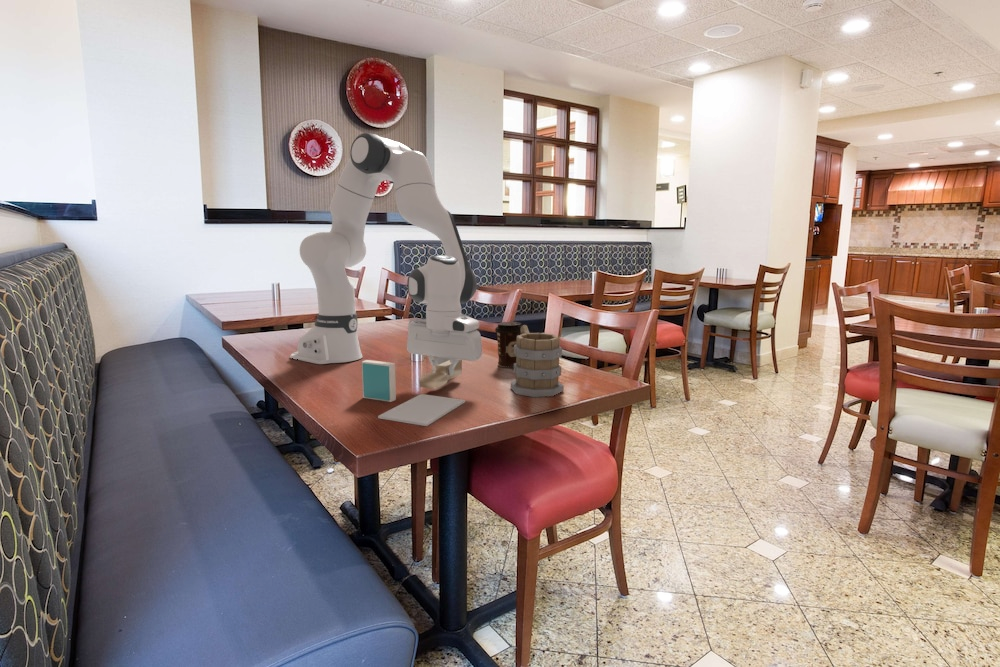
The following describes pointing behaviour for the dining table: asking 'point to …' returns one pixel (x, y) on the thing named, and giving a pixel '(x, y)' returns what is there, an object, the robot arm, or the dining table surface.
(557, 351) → the tankard
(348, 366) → the dining table surface
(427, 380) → the tan stepped bar
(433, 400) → the mat
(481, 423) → the dining table surface
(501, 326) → the coffee cup
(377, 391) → the tile
